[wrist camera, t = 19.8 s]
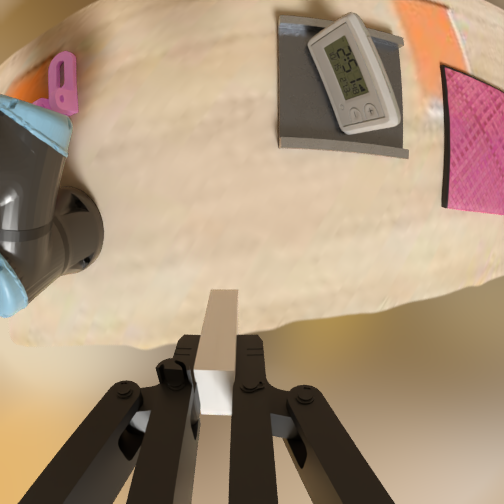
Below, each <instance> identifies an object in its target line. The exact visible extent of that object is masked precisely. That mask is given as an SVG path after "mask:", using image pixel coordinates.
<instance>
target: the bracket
mask: <svg viewBox="0 0 504 504" xmlns="http://www.w3.org/2000/svg"><path fill="white" fill-rule="evenodd" d="M62 63H64V85H63V86H62V87H61V88H60V66H61V64H62ZM48 88H49V99H45V98H40V99H38V100H36V101H34V102H33V103H32V104H34V105H38V106H41V107H44V108H47V109H50V110H52V111H55V112H58V113H61V114H64V115H66V116H70V115H73V114H75V113H77V112H79V110H78V97H77V78H76V57H75V55H74V54H73V53H71V52H68V51H63V52H60V53H59V54H57V55H56V56H55V57H54V58H53V60H52V61H51V63H50V66H49V70H48Z"/></svg>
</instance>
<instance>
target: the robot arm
mask: <svg viewBox="0 0 504 504" xmlns="http://www.w3.org/2000/svg"><path fill="white" fill-rule="evenodd" d="M72 131H73V125H72V122H71V120H70V118H69V117H68V116H66V115H64V114H61V113H58V112H55V111H52V110H50V109H47V108H44V107H41V106H38V105H34V104H31V103H28V102H25V101H22V100H19V99H16V98H12V97H9V96H6V95H2V94H0V317H3V318H7V317H11V316H13V315H14V314H15V313H17V312H18V311H19V310H21V309H23V308H25V307H26V306H27V305H28V304H29V303H30V302H31V301H32V300H33V299H34V298H35V297H36V296H37V295H39V294H40V293H41V292H42V291H43V290H44V289H45V288H47V287H48V286H49V285H50V284H51V283H52V282H54V281H55V280H56V279H57V278H58V277H60V276H62V275H68V274H73V273H78V272H80V271H83V270H84V269H86V268H87V267H88V266H90V265H91V264H92V263H93V262H94V261H95V260H96V259H97V257H98V256H99V254H100V252H101V249H102V245H103V239H104V230H103V223H102V219H101V216H100V213H99V211H98V209H97V207H96V205H95V204H94V202H93V201H92V200H91V199H90V197H89V196H88V195H86V194H85V193H84V192H82V191H81V190H79V189H77V188H73V187H61V188H59V186H60V181H61V177H62V173H63V168H64V164H65V161H66V157H68V152H67V151H68V147H69V143H70V139H71V135H72ZM156 371H157V375H158V378H159V382H160V384H158V385H156V386H152V387H146V388H140V387H139V386H138V385H137V384H136V383H134V382H132V381H120V382H118V383H115V384H114V385H113V386H112V387H111V388H110V389H109V390H108V392H107V393H106V394H105V395H104V396H103V398H102V399H101V400H100V401H99V402H98V404H97V405H96V406H95V407H94V408H93V410H92V411H91V412H90V413H89V414H88V416H87V417H86V418H85V419H84V421H83V422H82V423H81V424H80V425H79V427H78V428H77V429H76V431H75V432H74V433H73V434H72V435H71V437H70V438H69V439H68V440H67V442H66V443H65V444H64V445H63V447H62V448H61V449H60V450H59V452H58V453H57V454H56V455H55V457H54V458H53V459H52V461H51V462H50V463H49V464H48V465H47V467H46V468H45V469H44V470H43V472H42V473H41V474H40V476H39V477H38V478H37V479H36V481H35V482H34V483H33V485H32V486H31V487H30V488H29V490H28V491H27V492H26V494H25V495H24V496H23V498H22V499H21V500H20V502H19V503H18V504H113V502H114V500H115V499H116V497H117V495H118V494H119V492H120V490H121V488H122V487H123V485H124V484H125V482H126V480H127V479H128V477H129V475H130V474H131V472H132V470H133V469H134V467H135V470H134V474H133V478H132V482H131V486H130V490H129V494H128V499H127V502H126V504H191V500H192V490H193V482H194V473H195V465H196V456H197V447H198V440H199V432H200V418H199V414H200V409H201V414H211V415H212V414H213V415H232V417H231V418H232V419H231V443H230V472H229V504H278V496H277V485H276V472H275V461H274V449H273V437H272V436H277V437H282V438H283V441H284V443H285V445H286V447H287V449H288V452H289V454H290V456H291V458H292V460H293V463H294V464H295V467H296V469H297V471H298V473H299V475H300V477H301V480H302V482H303V484H304V486H305V488H306V490H307V492H308V494H309V496H310V498H311V500H312V502H313V504H395V503H394V501H393V500H392V499H391V497H390V496H389V495H388V493H387V491H386V490H385V488H384V487H383V485H382V484H381V482H380V481H379V479H378V478H377V476H376V475H375V473H374V472H373V471H372V469H371V468H370V466H369V465H368V463H367V462H366V460H365V459H364V457H363V456H362V454H361V453H360V451H359V450H358V448H357V447H356V445H355V444H354V442H353V440H352V439H351V437H350V436H349V434H348V433H347V432H346V430H345V428H344V427H343V425H342V424H341V422H340V421H339V419H338V418H337V416H336V415H335V413H334V411H333V410H332V408H331V407H330V405H329V404H328V402H327V401H326V399H325V398H324V396H323V395H322V393H321V392H320V391H319V390H318V389H317V388H315V387H313V386H309V385H300V386H297V387H294V388H292V389H291V390H290V391H284V390H280V389H277V388H275V387H273V386H271V385H270V384H269V383H268V381H267V379H266V374H265V362H264V351H263V341H262V340H261V338H260V337H259V336H258V335H239V316H238V290H211V292H210V296H209V301H208V305H207V309H206V314H205V318H204V323H203V327H202V332H201V335H183V336H182V337H181V338H180V339H179V340H178V343H177V346H176V350H175V353H174V356H173V358H171V359H170V358H169V359H166V360H163V361H162V362H160V363H159V364H158V365H157V367H156ZM135 465H136V466H135Z"/></svg>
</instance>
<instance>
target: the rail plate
mask: <svg viewBox="0 0 504 504" xmlns="http://www.w3.org/2000/svg"><path fill="white" fill-rule="evenodd" d="M333 22H334V21H329V20H323V19H316V18H308V17H298V16H287V15H280V16H279V20H278V66H279V148H292V149H313V150H328V151H341V152H352V153H362V154H371V155H379V156H387V157H394V158H402V159H408V157H409V150H408V149H403V106H402V84H401V70H400V59H399V50H398V48H400V47H402V46H404V42H403V38H402V37H399V36H395V35H392V34H389V33H385V32H381V31H377V30H374V29H369V28H367V30H368V32H369V34H370V36H371V39H372V41H373V43H374V45H375V47H376V49H377V52H378V54H379V56H380V59H381V61H382V63H383V66H384V68H385V71H386V73H387V76H388V78H389V81H390V84H391V86H392V89H393V92H394V95H395V98H396V101H397V104H398V107H399V110H400V114H401V121H400V123H399V124H398V125H397V126H394V127H390V128H384V129H378V130H372V131H367V132H362V133H356V134H351V135H348V134H346V133H344V132H343V131H342V130H341V128H340V126H339V124H338V121H337V118H336V115H335V113H334V110H333V107H332V104H331V102H330V99H329V97H328V94H327V91H326V89H325V86H324V84H323V81H322V79H321V76H320V74H319V72H318V69H317V67H316V64H315V62H314V60H313V57H312V55H311V53H310V50H309V48H308V42H309V40H310V39H311V38H312V37H313V36H315V35H316V34H317V33H319V32H320V31H322V30H323V29H324V28H326V27H327V26H329V25H330V24H332V23H333Z"/></svg>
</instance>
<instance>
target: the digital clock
mask: <svg viewBox="0 0 504 504" xmlns="http://www.w3.org/2000/svg"><path fill="white" fill-rule="evenodd" d="M308 48H309V50H310V53H311V55H312V57H313V60H314V62H315V64H316V67H317V69H318V72H319V74H320V76H321V79H322V81H323V84H324V86H325V89H326V91H327V94H328V97H329V99H330V102H331V104H332V107H333V110H334V113H335V115H336V118H337V121H338V124H339V126H340V128H341V130H342V131H343V132H344V133H346V134H348V135H351V134H356V133H362V132H367V131H372V130H378V129H384V128H390V127H394V126H397V125H398V124H399V123H400V121H401V114H400V110H399V107H398V104H397V101H396V98H395V95H394V92H393V89H392V86H391V84H390V81H389V78H388V76H387V73H386V71H385V68H384V66H383V63H382V61H381V59H380V56H379V54H378V52H377V49H376V47H375V45H374V43H373V41H372V39H371V36H370V34H369V32H368V30H367V28H366V26H365V25H364V23H363V21H362V19H361V18H360V17H359V16H358V15H357V14H355V13H352V12H350V13H347V14H345V15H344V16H342V17H340V18H339V19H337V20H336V21H334V22H333V23H332V24H330V25H329V26H327V27H326V28H324V29H323V30H322V31H320V32H319V33H317V34H316V35H315V36H313V37H312V38H311V39H310V40H309V42H308Z"/></svg>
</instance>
